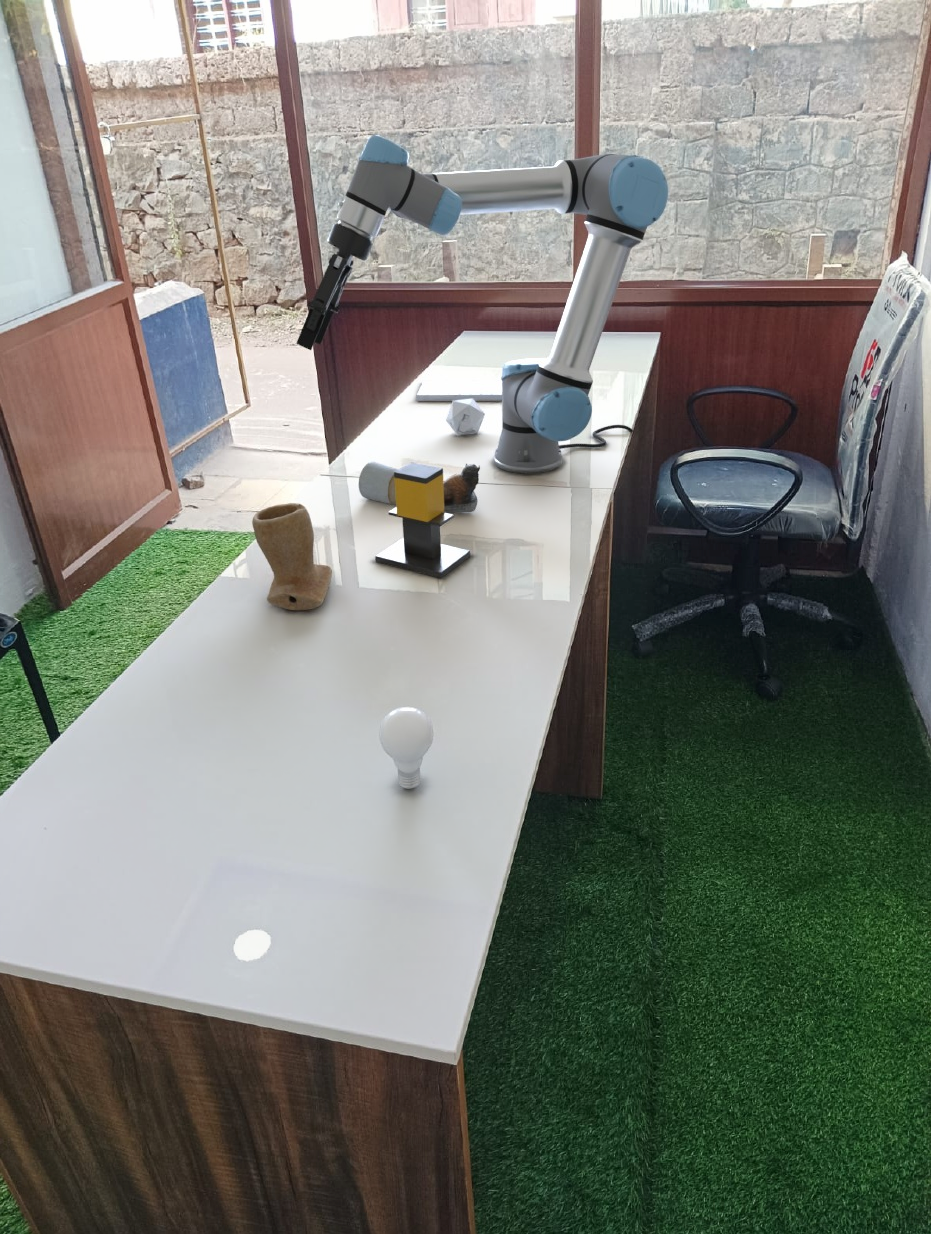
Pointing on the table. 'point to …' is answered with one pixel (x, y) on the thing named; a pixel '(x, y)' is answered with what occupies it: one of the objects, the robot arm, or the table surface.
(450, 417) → the die
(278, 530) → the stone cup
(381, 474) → the ceramic mug
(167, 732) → the table surface
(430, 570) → the stand
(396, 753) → the lightbulb
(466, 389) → the computer keyboard
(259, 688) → the table surface
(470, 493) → the brown animal-shaped figure
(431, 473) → the block
